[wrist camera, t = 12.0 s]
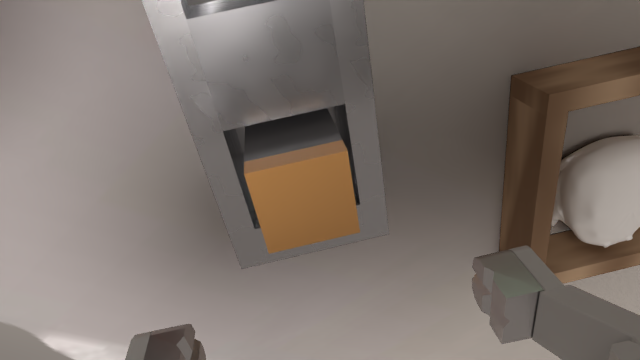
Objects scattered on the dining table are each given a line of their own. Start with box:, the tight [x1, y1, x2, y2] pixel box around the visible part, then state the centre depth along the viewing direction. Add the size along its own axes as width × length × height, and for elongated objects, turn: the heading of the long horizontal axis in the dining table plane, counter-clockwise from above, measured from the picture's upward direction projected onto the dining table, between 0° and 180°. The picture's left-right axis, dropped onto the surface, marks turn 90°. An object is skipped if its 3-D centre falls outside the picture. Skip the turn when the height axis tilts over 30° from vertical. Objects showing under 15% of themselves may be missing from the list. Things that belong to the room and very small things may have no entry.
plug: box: [244, 108, 360, 254], centre depth 19 cm, size 4×4×7 cm
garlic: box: [551, 135, 640, 248], centre depth 27 cm, size 8×7×4 cm
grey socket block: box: [142, 0, 389, 269], centre depth 19 cm, size 8×20×5 cm, turn 10°
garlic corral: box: [499, 47, 640, 283], centre depth 26 cm, size 13×14×4 cm
